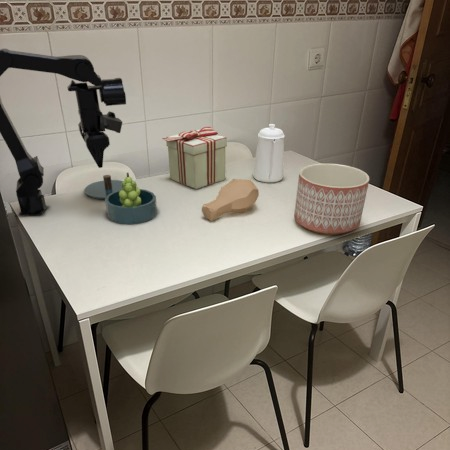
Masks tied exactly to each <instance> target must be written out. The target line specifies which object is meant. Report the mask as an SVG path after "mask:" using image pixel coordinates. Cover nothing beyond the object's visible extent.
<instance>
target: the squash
mask: <svg viewBox="0 0 450 450" xmlns="http://www.w3.org/2000/svg"><path fill="white" fill-rule="evenodd" d="M259 192H260V191H259V188H258V187H257V186H256V184H255V183H254V181H253V180H251V179H243V178H242V179H241V178H240V179H238V178H233V179H231V180H230V181H229V182H228V183H225V184H224V185H223V186H221V187H220V188H219V191H218V195H217V196H216V198H215V199H213V200H212V201H210V202H208V203H204V204H203V205H202V207H201V212H202V214H203V216H204V217H205V218H206V219H207V220H209V221H210V222H211V221H214V220H216V219H217V220H218V218H219V217H221V216H223V215H225V214H230V213H232V214H244V213H246V212H248V211H249V210H251V209H252V207H253V206H254V205H255V203H256V202H257V200H258V198H259V196H260V195H259V194H260V193H259Z"/></svg>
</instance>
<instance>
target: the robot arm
mask: <svg viewBox="0 0 450 450" xmlns="http://www.w3.org/2000/svg"><path fill="white" fill-rule="evenodd" d="M9 69H18V70H25V71H33V72H42V73H50V74H57V75H60V76H62V77H66V78H68V79H71V80H70V83H69V85H68V86H67V90H68V92H75V97H76V103H77V109H78V110H77V113H78V115H79V120H80V121H79V123H78V124H77V125H78V131H79V133H80V134H79V135H80V136H81V137H82V139H83V142H84V143H85V147H86V149H87V150H88V152H89V154H90V155H91V157H92V159H93V160H94V162H95V164H96V166H97V167H98V168H99V169H101V168H103V165H104V156H105V155H104V154H105V150H106V149H107V148H109V146H110V145H111V143H110V138H109V136H108V134H107V133H106V130H108V131H112V132H115V133H117V134H121V131H122V126H123V120H121V119H120V118H119V117H116V113H115V112H113V111H110V110H109V111H108V112H107V113H106V114H103V112H102V110H101V108H100V103H103V104H104V105H105V107H111V106H122V105H124V106H125V105H127V96H126V92H125V88H124V84H123V79H122V77H115V78H106V79H102V77H101V76H100V75H99V74H97V73H96V71H95V68H94V65H93V63H92V61H91V60H90V59H89V57H87V56H85V55H83V54H71V55H69V54H68V55H61V56H53V55H47V54H38V53H32V52H25V51H18V50H11V49H9V48H0V77H1V76H2V75H3V74H4V73H6V71H7V70H9ZM76 81H78V82H76ZM88 83H90V84H91V85H88ZM98 93H99V96H98ZM99 99H100V102H99ZM0 135H1V137H2V139H3V141H4V143H5V144H6V146H7V148H8V150H9V151H10V154H11V155H12V157H13V159H14V161H15V165H16V168H17V173H18V175H19V178H18V179H17V181H16V188H15V194H16V198H17V202H18V206H19V210H20V211H19V213H18V215H19V216H41V215H43V213H44V212H45V210H46V209H47V208H48V206H47V203H46V199H45V195H44V194H43V193H42V190H41V187H42V186H43V183H44V176H45V169H44V167H43V166H42V164H41V163H40V160H39V157H38V156H37V155H35V156H34V157H33V156H32V155H31V154H30V153H29V152H28V150H27V148H26V147H25V144H24V143H23V140H22V139H21V137H20V135H19V133H18V131H17V129H16V127H15V125H14V123H13V122H12V119H11V117H10V116H9V113H8V112H7V110H6V108H5V106H4V104H3V102H2V97H1V96H0Z"/></svg>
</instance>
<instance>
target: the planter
mask: <svg viewBox="0 0 450 450" xmlns="http://www.w3.org/2000/svg"><path fill="white" fill-rule="evenodd" d="M369 183H370V176H369V175H368V174H367V172H365V171H364V170H362V169H359V168H358V167H354V166H351V165H346V164H340V163H326V162H324V163H313V164H309V165H305V166H303V167H302V168H301V169H300V170H299V172H298V181H297V190H296V198H295V204H294V205H295V207H294V215H293V216H294V220H295V221H296V223H297V224H299V225H301V226H302V227H304V229H306V230H307V231H310V232H313V233H316V234H320V235H325V236H326V235H327V236H328V235H329V236H335V235H343V234H346V233H348V232H352V231H355V230H356V229H357V228H358V227H360V225H361V222H362V217H363V212H364V208H365V202H366V199H367V198H366V197H367V193H368V188H369Z"/></svg>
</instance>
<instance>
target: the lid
mask: <svg viewBox="0 0 450 450" xmlns="http://www.w3.org/2000/svg"><path fill="white" fill-rule="evenodd" d="M102 177H103V178H102V179H103V180H99V181H95V182H92V183H90V184H87V185H86V186H85V187H84V194H85V195H86V196H88V197H90V198H93V199H97V200H105V199H106V197H107V196H108V195H109V194H111V193H112V192H115V191H118V190H122V182H123V181H124V180H119V179H112V176H111V174H104V175H103V176H102Z"/></svg>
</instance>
